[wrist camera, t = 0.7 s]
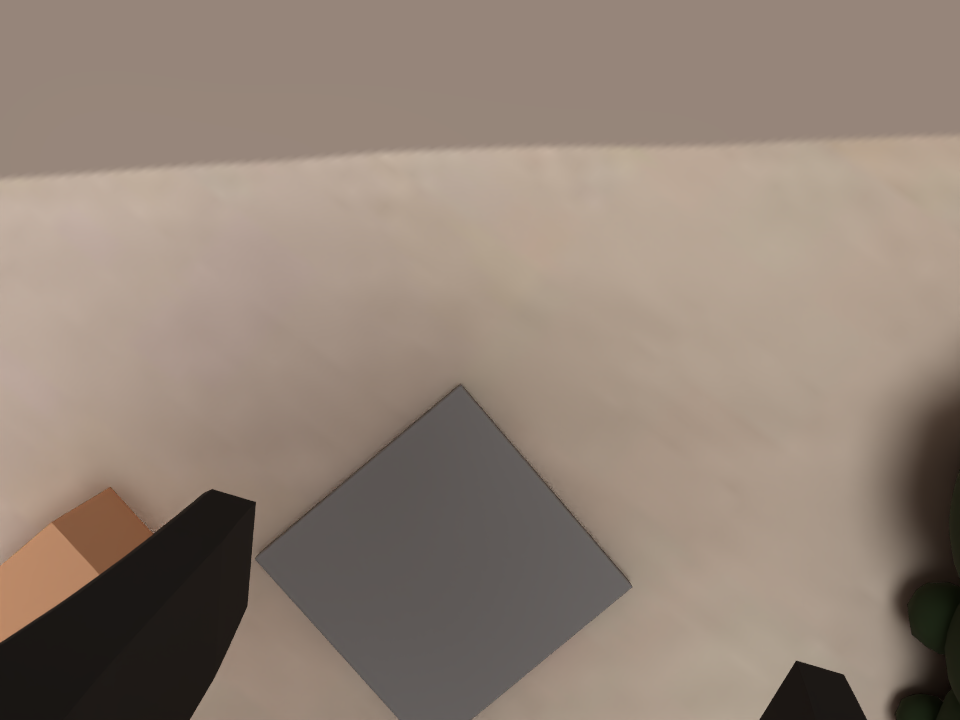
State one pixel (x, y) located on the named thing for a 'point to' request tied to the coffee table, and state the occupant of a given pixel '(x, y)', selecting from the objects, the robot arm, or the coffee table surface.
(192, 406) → the coffee table surface
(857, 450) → the coffee table surface
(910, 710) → the toy figurine
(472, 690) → the mat
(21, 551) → the cube
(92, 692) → the robot arm
